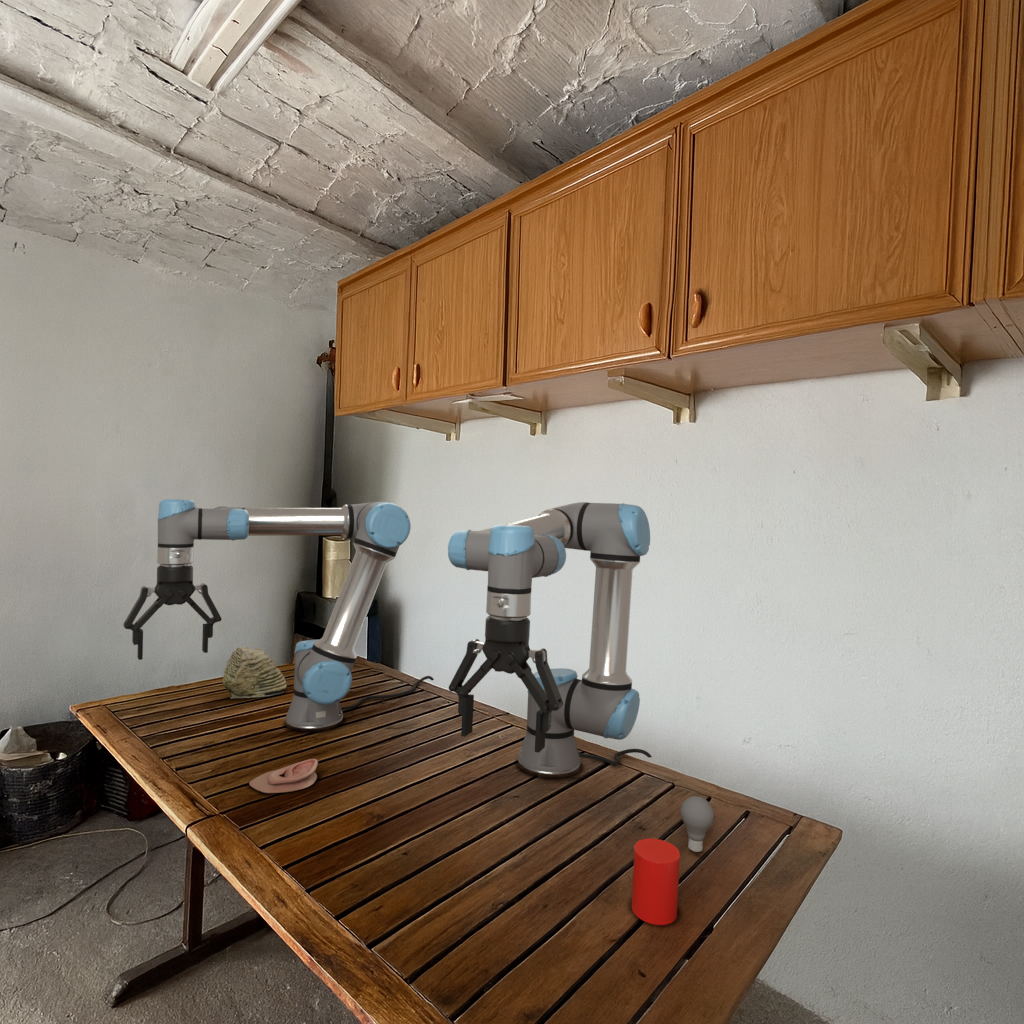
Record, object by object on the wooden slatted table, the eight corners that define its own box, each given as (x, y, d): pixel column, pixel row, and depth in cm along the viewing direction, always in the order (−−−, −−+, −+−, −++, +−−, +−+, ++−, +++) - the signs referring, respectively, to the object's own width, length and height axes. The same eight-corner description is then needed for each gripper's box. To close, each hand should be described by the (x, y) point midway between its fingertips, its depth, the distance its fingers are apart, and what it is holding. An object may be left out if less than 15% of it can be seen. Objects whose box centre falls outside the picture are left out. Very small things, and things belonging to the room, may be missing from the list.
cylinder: (634, 892, 105) (637, 834, 105) (678, 902, 103) (681, 843, 103) (628, 918, 99) (631, 857, 99) (675, 929, 97) (678, 867, 96)
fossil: (218, 695, 195) (220, 647, 195) (278, 685, 208) (279, 640, 207) (228, 703, 189) (230, 653, 188) (289, 692, 201) (290, 645, 201)
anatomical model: (241, 770, 135) (272, 750, 146) (240, 789, 135) (271, 767, 146) (297, 779, 132) (324, 757, 144) (297, 798, 132) (324, 775, 144)
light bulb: (674, 841, 122) (676, 790, 121) (704, 841, 122) (707, 790, 122) (685, 859, 116) (688, 805, 115) (717, 859, 116) (719, 805, 116)
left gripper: (113, 568, 138) (111, 665, 139) (235, 564, 153) (233, 652, 153) (111, 565, 144) (109, 657, 145) (228, 561, 159) (226, 645, 159)
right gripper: (432, 611, 108) (427, 734, 109) (571, 629, 98) (564, 764, 99) (454, 605, 115) (448, 721, 116) (585, 621, 105) (579, 748, 106)
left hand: (173, 655), depth 149 cm, fingers open, 13 cm apart
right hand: (502, 741), depth 107 cm, fingers open, 13 cm apart
